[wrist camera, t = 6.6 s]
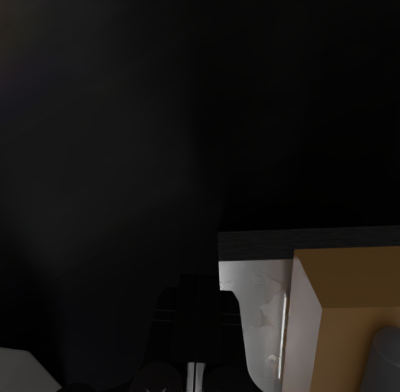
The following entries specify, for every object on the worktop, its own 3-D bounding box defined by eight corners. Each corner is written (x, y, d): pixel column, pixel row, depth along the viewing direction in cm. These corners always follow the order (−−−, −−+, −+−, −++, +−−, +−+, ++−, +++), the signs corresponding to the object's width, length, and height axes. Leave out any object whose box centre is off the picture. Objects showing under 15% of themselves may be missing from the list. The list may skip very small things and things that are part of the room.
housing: (349, 457, 23) (367, 506, 20) (227, 456, 23) (229, 503, 21) (416, 224, 14) (463, 258, 11) (217, 231, 14) (219, 265, 12)
